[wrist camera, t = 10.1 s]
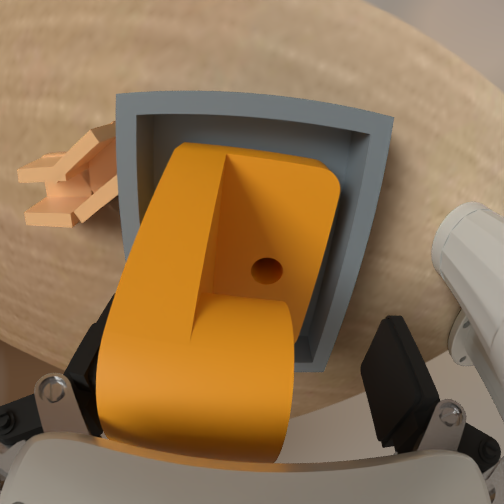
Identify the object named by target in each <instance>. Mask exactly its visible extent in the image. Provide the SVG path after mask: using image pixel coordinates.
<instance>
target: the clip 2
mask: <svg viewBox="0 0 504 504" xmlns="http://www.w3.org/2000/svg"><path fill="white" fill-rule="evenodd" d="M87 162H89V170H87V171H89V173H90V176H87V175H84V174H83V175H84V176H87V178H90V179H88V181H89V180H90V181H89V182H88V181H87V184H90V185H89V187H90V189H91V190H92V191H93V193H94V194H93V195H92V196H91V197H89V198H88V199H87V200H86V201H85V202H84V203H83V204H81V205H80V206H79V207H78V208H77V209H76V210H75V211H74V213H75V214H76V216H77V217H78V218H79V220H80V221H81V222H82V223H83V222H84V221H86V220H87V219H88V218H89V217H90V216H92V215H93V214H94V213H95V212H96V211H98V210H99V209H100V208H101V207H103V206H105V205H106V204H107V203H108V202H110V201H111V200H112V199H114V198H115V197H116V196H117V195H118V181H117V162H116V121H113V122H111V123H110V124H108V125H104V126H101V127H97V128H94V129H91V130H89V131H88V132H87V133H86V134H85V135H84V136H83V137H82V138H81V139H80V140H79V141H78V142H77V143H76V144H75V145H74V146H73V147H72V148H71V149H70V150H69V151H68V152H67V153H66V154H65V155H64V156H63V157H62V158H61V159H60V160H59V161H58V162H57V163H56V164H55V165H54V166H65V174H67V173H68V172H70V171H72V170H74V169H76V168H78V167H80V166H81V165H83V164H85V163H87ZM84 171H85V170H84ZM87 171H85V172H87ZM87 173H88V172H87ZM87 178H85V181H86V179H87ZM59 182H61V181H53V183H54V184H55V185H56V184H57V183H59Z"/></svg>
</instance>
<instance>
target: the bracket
mask: <svg viewBox="0 0 504 504" xmlns="http://www.w3.org/2000/svg"><path fill="white" fill-rule="evenodd" d="M339 195H340V184H339V181H338V179H337V177H336V176H335V175H334V174H333V173H332V172H331V171H330V170H329V169H328V168H327V166H326V165H325V164H323V163H322V162H321V161H319V160H316V159H311V158H306V157H300V156H294V155H288V154H282V153H275V152H268V151H261V150H254V149H247V148H239V147H230V146H221V145H211V144H201V143H189V142H184V143H182V144H181V145H180V146H178V147H177V148H175V150H174V152H173V154H172V156H171V158H170V160H169V162H168V164H167V166H166V168H165V170H164V173H163V175H162V177H161V179H160V181H159V183H158V186H157V188H156V190H155V192H154V195H153V197H152V199H151V202H150V204H149V206H148V209H147V211H146V213H145V216H144V218H143V221H142V223H141V225H140V228H139V230H138V233H137V235H136V238H135V241H134V243H133V246H132V248H131V251H130V254H129V256H128V259H127V262H126V265H125V267H124V270H123V273H122V276H121V279H120V281H119V284H118V287H117V290H116V293H115V296H114V299H113V303H112V306H111V309H110V312H109V315H108V319H107V322H106V325H105V329H104V332H103V336H102V340H101V345H100V350H99V355H98V363H97V373H96V401H97V410H98V415H99V420H100V424H101V426H102V429H103V431H104V433H105V435H106V437H107V438H108V439H109V440H112V441H116V442H120V443H124V444H128V445H132V446H137V447H141V448H146V449H151V450H156V451H161V452H166V453H172V454H177V455H184V456H190V457H197V458H205V459H214V460H223V461H235V462H250V463H274V462H275V461H276V460H277V458H278V456H279V454H280V451H281V449H282V446H283V443H284V440H285V436H286V432H287V427H288V422H289V417H290V410H291V403H292V394H293V382H294V344H295V342H296V341H297V339H298V336H299V333H300V330H301V327H302V324H303V321H304V318H305V315H306V312H307V309H308V306H309V302H310V299H311V296H312V293H313V290H314V286H315V283H316V280H317V276H318V273H319V269H320V266H321V263H322V259H323V256H324V252H325V248H326V245H327V241H328V238H329V234H330V230H331V226H332V223H333V219H334V215H335V211H336V207H337V203H338V199H339Z"/></svg>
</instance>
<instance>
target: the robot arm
mask: <svg viewBox="0 0 504 504" xmlns="http://www.w3.org/2000/svg"><path fill="white" fill-rule="evenodd" d="M114 296H115V294H114V295H113V296H112V298H111V300H110V301H109V303H108V304H107V306H106V308H105V309H104V311H103V313H102V314H101V316H100V317H99V319H98V321H97V323H94V324H92V326H91V327H90V328H89V330H88V332H87V333H86V335H85V337H84V339H83V340H82V342H81V344H80V345H79V347H78V349H77V351H76V352H75V354H74V356H73V358H72V360H71V361H70V363H69V365H68V367H67V369H66V370H65V372H64V374H63V375H62V374H59V373H50V374H47V375H45V376H43V377H42V378H40V380H39V381H38V382H37V383H36V386H35V389H34V394H32V395H29V396H26V397H24V398H21V399H19V400H16V401H13V402H11V403H8V404H5V405H3V406H0V504H504V456H503V457H502V458H501V457H500V455H501V450H500V447H499V444H498V443H497V441H496V440H495V439H493V438H492V437H490V436H488V435H487V434H485V433H483V432H482V431H480V430H478V429H476V428H475V427H473V426H471V425H469V424H468V423H466V413H465V411H464V409H463V407H462V406H461V405H460V404H459V403H457V402H456V401H454V400H451V399H445V400H442V401H440V399H439V395H438V392H437V390H436V387H435V385H434V383H433V380H432V378H431V376H430V374H429V371H428V369H427V367H426V365H425V362H424V360H423V358H422V356H421V354H420V352H419V349H418V347H417V345H416V343H415V341H414V339H413V337H412V335H411V333H410V331H409V329H408V327H407V325H406V323H405V321H404V319H403V317H402V316H387V317H386V318H385V319H383V320H382V321H381V323H380V325H379V328H378V330H377V332H376V334H375V337H374V339H373V341H372V343H371V345H370V348H369V350H368V352H367V354H366V356H365V358H364V360H363V362H362V364H361V376H362V379H363V383H364V387H365V391H366V394H367V398H368V402H369V406H370V410H371V414H372V418H373V422H374V426H375V431H376V435H377V439H378V441H381V443H382V447H383V448H385V447H391V446H394V447H395V453H394V455H390V456H383V457H376V458H367V459H359V460H350V461H338V462H323V463H300V464H299V463H297V464H296V463H295V464H294V463H293V464H279V463H250V462H235V461H223V460H214V459H205V458H197V457H190V456H184V455H177V454H172V453H166V452H161V451H156V450H151V449H146V448H141V447H137V446H132V445H128V444H124V443H120V442H116V441H112V440H108V439H103V438H102V437H101V434H102V433H103V429H102V426H101V424H100V420H99V415H98V410H97V401H96V373H97V363H98V355H99V350H100V345H101V340H102V336H103V332H104V329H105V325H106V322H107V319H108V315H109V312H110V309H111V306H112V303H113V299H114ZM448 349H449V353H450V355H451V357H452V358H453V360H454V362H455V363H457V364H459V365H461V366H473V365H474V366H475V368H476V369H477V371H478V373H479V375H480V377H481V379H482V380H483V382H484V384H485V386H486V388H487V389H488V392H489V393H490V396H491V397H492V399H493V401H494V403H495V405H496V407H497V409H498V412H499V414H500V416H501V418H502V420H503V422H504V390H503V388H502V385H501V383H500V381H499V378H498V376H497V374H496V372H495V370H494V367H493V365H492V363H491V361H490V359H489V357H488V355H487V353H486V351H485V349H484V347H483V345H482V343H481V341H480V339H479V338H478V336H477V334H476V332H475V330H474V329H473V327H472V325H471V323H470V321H469V320H468V318H467V316H466V315H465V313H464V311H463V310H462V309H461V311H460V313H459V314H458V316H457V318H456V320H455V322H454V324H453V327H452V329H451V332H450V335H449V339H448Z"/></svg>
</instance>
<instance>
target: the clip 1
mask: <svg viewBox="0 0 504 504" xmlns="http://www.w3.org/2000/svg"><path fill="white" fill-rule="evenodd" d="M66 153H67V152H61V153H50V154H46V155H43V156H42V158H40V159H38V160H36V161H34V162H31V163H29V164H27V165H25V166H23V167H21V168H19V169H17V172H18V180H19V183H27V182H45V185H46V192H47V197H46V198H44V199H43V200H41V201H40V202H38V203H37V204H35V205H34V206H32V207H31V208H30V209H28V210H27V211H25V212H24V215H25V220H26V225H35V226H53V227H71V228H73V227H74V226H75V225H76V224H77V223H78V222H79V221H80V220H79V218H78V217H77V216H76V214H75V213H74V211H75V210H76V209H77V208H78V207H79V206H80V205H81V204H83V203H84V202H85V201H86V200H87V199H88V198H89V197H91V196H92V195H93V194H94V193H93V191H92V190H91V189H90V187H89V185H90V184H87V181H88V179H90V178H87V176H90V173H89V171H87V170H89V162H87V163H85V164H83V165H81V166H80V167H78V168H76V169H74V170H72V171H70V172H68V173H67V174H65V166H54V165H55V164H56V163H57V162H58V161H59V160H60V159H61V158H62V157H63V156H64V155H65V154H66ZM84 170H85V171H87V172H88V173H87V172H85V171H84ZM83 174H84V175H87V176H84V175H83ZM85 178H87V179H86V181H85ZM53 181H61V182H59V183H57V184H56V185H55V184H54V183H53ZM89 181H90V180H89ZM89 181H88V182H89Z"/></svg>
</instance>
